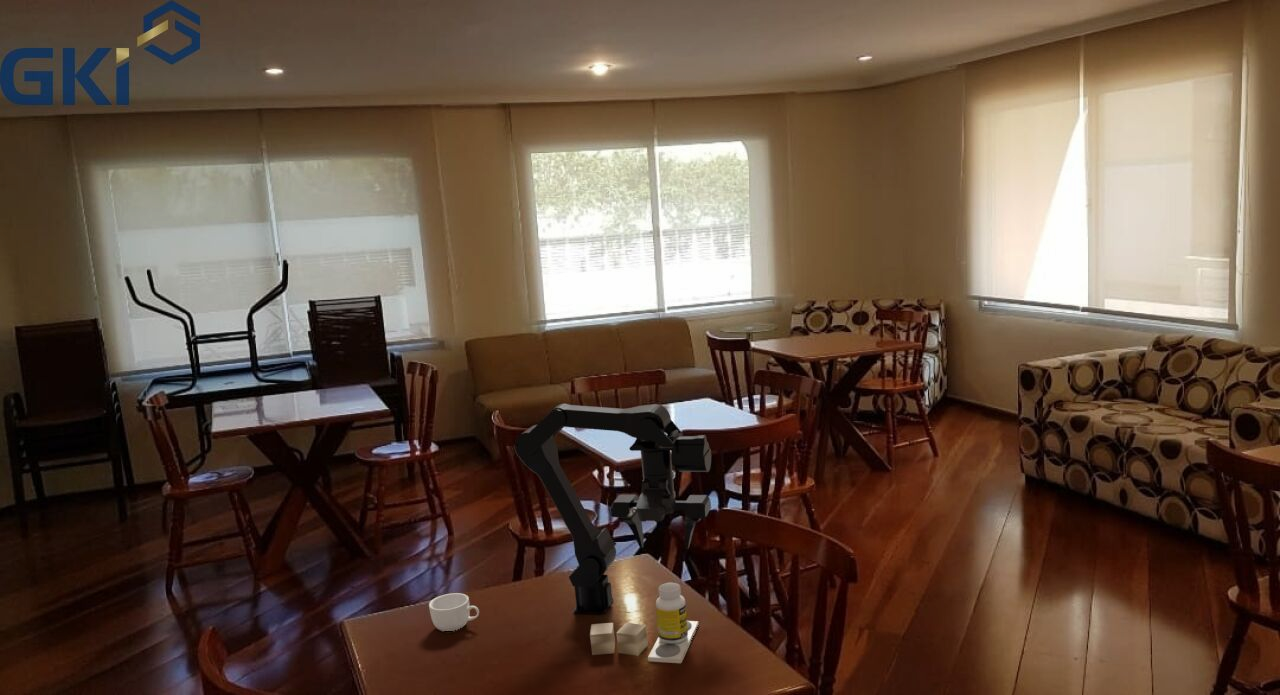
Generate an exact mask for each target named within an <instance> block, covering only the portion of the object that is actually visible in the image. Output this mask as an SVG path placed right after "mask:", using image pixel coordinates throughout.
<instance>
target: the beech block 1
mask: <svg viewBox="0 0 1280 695" xmlns="http://www.w3.org/2000/svg"><path fill="white" fill-rule="evenodd" d="M589 633H590V634H589V638H590V646H591V647H590V649H591V655H592V656H594V655H608V654H615V649H616V648H615V646H616V639H615V637H616V636H615V628H614V622H607V623H606V622H603V623H594V624H593V623H592V624H591V626H590V632H589Z"/></svg>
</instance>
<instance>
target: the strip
mask: <svg viewBox="0 0 1280 695" xmlns="http://www.w3.org/2000/svg"><path fill="white" fill-rule="evenodd" d="M698 625H699V621H697V620H695V621H694V620H687V629H688V636H687V638H686V639H685V640H684V641H682V642H679V643H665V642H662V641H661V640H660V639H659V636H658V637H657V639H656V641H655V643H654V645H653V647H652V648H651V650H650V652H649V653H648V656H647V661H648V662H653V663H654V662H655V663H669V664H671V663H672V664H682V663H683V660H684V658H685V656H686V654H687V652H688V650H689V647H690V645H691V643H692V641H693V639H694V637H695V634H696V632H697V630H698V628H699V626H698ZM697 627H698V628H697ZM696 629H697V630H696ZM693 636H694V637H693ZM692 638H693V639H692ZM691 640H692V641H691Z"/></svg>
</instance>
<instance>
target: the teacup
mask: <svg viewBox="0 0 1280 695" xmlns="http://www.w3.org/2000/svg"><path fill="white" fill-rule="evenodd" d="M469 598H470V597H469V596H468V595H467V594H464V593H460V592H459V593H458V592H456V593H455V592H453V593H452V592H451V593H446V594H443V595H439V596H436V597H435V598H433V599H432V600H430V601H429V603H428V607H429V613H430V618H431V621H432V623H433V626H435V628H436V629H437V630H439V631H440V632H444V631H453V632H456V631H459V630H461V629H462V628H463V627H464V626H465V625H467V623H468V622H469V621H473V620H475V619H476V618H477V617H478V616H479V615H480V610H479V608H478V607H477V606H475V605H470V599H469ZM472 609H474V610H475V612H476V615H475V616H470V615H471V614H470V613H471V612H470V611H471V610H472ZM460 628H461V629H460ZM458 629H459V630H458ZM455 630H456V631H455Z"/></svg>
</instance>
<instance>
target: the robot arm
mask: <svg viewBox="0 0 1280 695" xmlns="http://www.w3.org/2000/svg"><path fill="white" fill-rule="evenodd" d="M670 414H671V413H669V410H667V409H666V407H665V406H663V405H661V404H658V403H653V404H646V405H638V406H633V407H628V408H617V407H604V406H602V407H601V406H589V405H576V404H575V405H574V404H568V403H565V402H564V403H560V404H558V405H557V406H555V407H554V408H552V409H551V410H550V412H549V414H547V415H546V416H545V417H544V418H543V419H542V420H541V421H540V422H539V423H537V424H534V425H532V426H530V427H529V428H528V429H526V430H524V431H523V432H521V433H520V434H519V435H518V436H517V437H516V438H515V442H514V446H513V447H514V451H515V454H516V455H517V457H518V458H519V459H520V460H521V462H522V463H523V465H525V467H527V468H528V469H529V470H531V471H532V472H533V473H535V474H536V475H537V476H538V478H539V480H540V481H541V482H542V484H543V486H544V489H545V491H546V492H547V493H548V495H549V497H550V499H551V501H552V502H553V504H554V506H555V508H556V510H557V512H558V513H559V515H560V517H561V519H562V520H563V521H562V522H564V524H565V526H566V527H567V528H566V529H567V530H568V531H569V534H570V535H571V537H572V542H573V549H574V555H575V556H574V557H575V559H576V561H577V564H578V565H577V567H576V568H575V569H574V570H573V571H572V573H571V574H569V576H568V578H569V581H570V583H571V585H572V587H573V588H574V595H575V596H574V597H575V604H576V606H575V607H574V608H573V613H577V614H597V615H603V614H605V612H606V611H607V610H608V608H610V606H611V604H612V603H613V601H614V598H613V593H612V583H611V582H609V577H608V574H605V573H606V572H607V571H608V570H609V567H610V566H611V565H612V563H613V562H614V560H615V559H616V556H617V549H616V545H617V543H616V541H614V540H613V538H612V536H611V533H610V531H609V529H608V528H607V527H604V528H603V529H599V527H598V526H596V525H594V524H593V522H592V519H591V518H590V517H589V515H588V513H587V511H586V509H585V507H584V506H583V504H582V502H581V500H580V498H579V497H578V494H577V492H576V491H575V489H574V487H573V485H572V484H571V482H570V480H569V478H568V477H567V475H566V472H565V471H564V469H563V467H562V465H561V464H560V460H559V451H558V445H557V443H556V442H557V441H555V436H557V435H558V434H559V433H560V432H561V431H562V429H564V428H575V429H585V430H586V429H587V430H599V431H612V432H613V431H614V432H620V433H623V434H625V435H627V436H629V437H630V438H631V437H632V438H634V439H635V441H634V442H633V444H632V445H631V446H630V447H629V451H632V452H635V451H636V452H638V451H639V452H640V459H641V468H642V481H641V490H640V491H641V492H640V495H639V497H638V495H637V494H619V495H618V496H617V497H616V498H615V499H614V501H613V502H612V503H611V505H610V516H611V517H612V518H618V521H620V522H623V523H625V524H626V525H627V526H628V527H629V528H630V530H631V532H632V534H633V536H634V538H635V540H636V543H637V544H638V546H639V548H640V549H643V548H644V546H645V545H644V540H645V539H644V531H643V523H642V522H645V523H646V522H648V521H649V522H655V523H657V522H659V523H660V522H662V521H663V520H664V519H665V515H668V514H673V513H674V512H684V515H685V517H684V519H683V523H684V546H685V550H688V549H689V548H690V544H691V541H692V536H693V532H694V531H695V528H696V527H695V526H696V525H697V523H700V521H701V520H702V519H705V518H707V516H708V514H709V513H710V511H711V510H712V502H711V499H710V497H709V496H708V495H707V494H690V495H689V496H688V497H687V499H686V500H676V497H677V495H676V491H675V486H674V477H675V475H674V474H675V473H674V471H673V467H674V470H677V471H678V472H680V473H686V472H687V473H691V472H695V473H697V472H698V473H699V472H701V473H702V472H703V473H704V472H705V473H708V472H710V469H711V465H712V449H711V448H710V445H709V444H710V443H709V442H708V441H707V435H706V434H704V435H703V434H701V435H700V434H699V435H693V436H692V435H691V436H688V435H687V436H686V435H685V436H683V432H682V430H680V428H678V426H677V424H676V423H674V421H673V420H672V418H671V415H670Z"/></svg>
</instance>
